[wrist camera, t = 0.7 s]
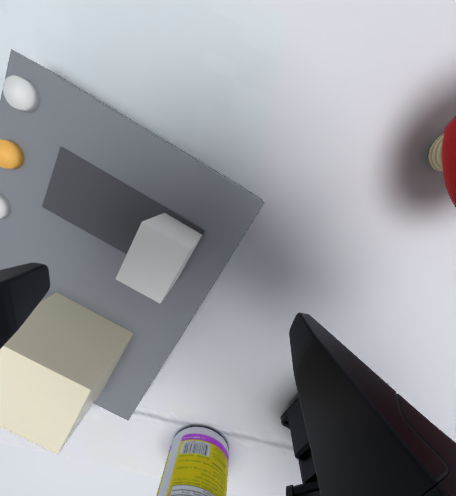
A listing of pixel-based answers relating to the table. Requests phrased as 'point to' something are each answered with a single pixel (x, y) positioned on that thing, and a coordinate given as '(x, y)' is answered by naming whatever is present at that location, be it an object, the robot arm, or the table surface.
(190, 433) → the supplement bottle
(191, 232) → the lever
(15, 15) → the table surface
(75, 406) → the beige block
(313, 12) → the table surface
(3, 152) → the panel
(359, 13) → the table surface
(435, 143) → the light bulb
